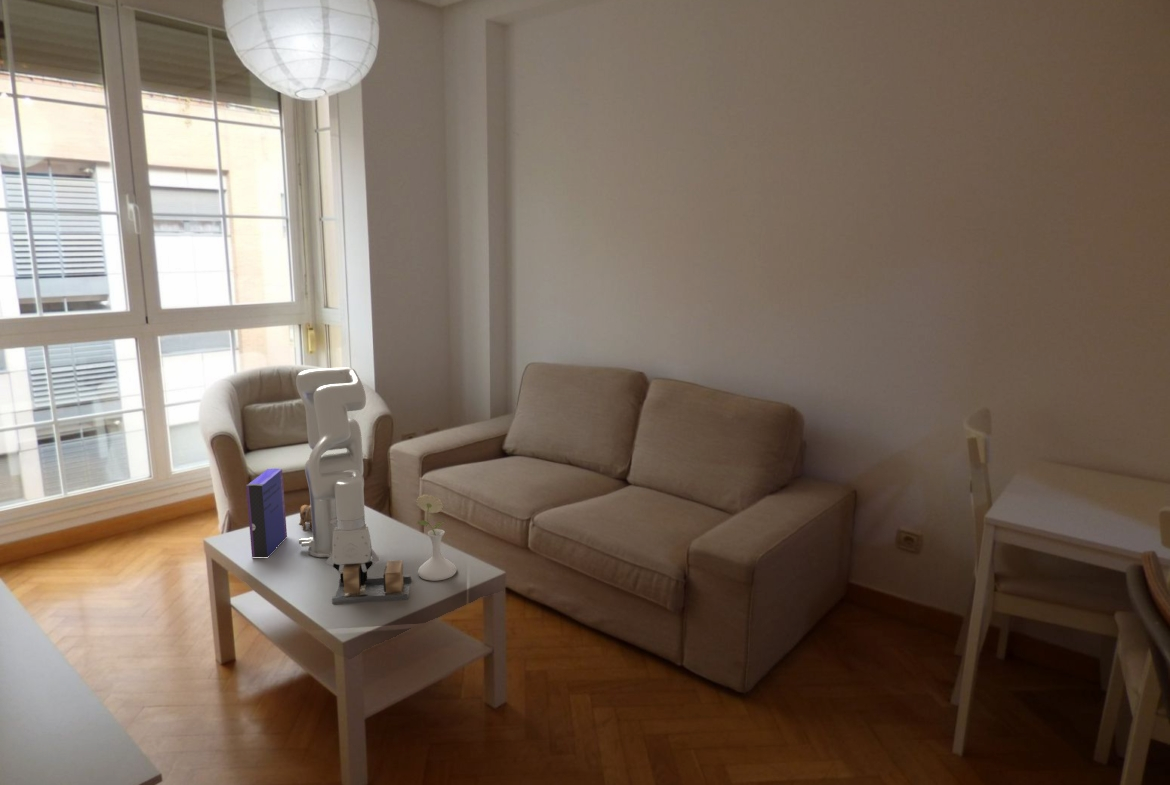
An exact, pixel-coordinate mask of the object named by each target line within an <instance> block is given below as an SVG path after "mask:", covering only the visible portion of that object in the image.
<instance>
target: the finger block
mask: <svg viewBox="0 0 1170 785" xmlns="http://www.w3.org/2000/svg"><path fill="white" fill-rule="evenodd" d="M361 571H362V568H361V565H360V564H345V565H344V568H343V581H344V593H359V592H360V589H361V586H362V585H361Z"/></svg>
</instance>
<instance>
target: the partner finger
mask: <svg viewBox="0 0 1170 785" xmlns="http://www.w3.org/2000/svg"><path fill="white" fill-rule="evenodd" d="M403 561H404V560H390V561H389V560H388V561H387V564H386V565H385V569H384V571H383V578H384V592H386V593H400V592H402V588H403V575H404V564H403Z"/></svg>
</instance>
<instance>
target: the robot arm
mask: <svg viewBox="0 0 1170 785" xmlns="http://www.w3.org/2000/svg"><path fill="white" fill-rule="evenodd" d="M295 384H296V389H297V392H298V393H297V394H299V397H300V399H301V401H302V404H303V406H304V409H305V420H306V431H307V432H306V433H307V441H308V446H309V448H310V449H311V452H310V455H309V457H308V460H306V462H305V465H304V472H305V476H306V481H307V485H308V491H309V501H310V504H309V505H310V506H311V519H312V529H311V530H312V531H311V532H312V536H310V537H309V538H304V537H303V538H301V537H300V538H299V539H298V545H301V547H303V548H304V547H308V550H307V551H308V553H309V554H308V555H310V556H312V557H316V558H327V559H326V561H325V562H326V564H327V565H329V566H331V567H333V569H335V570H336V571H338V573H339V575H340V576H339V580H340V579H341V583H343V587H344V581H343V568H344V565H345V564H360V565H361V568H362V571H361V585H362V586H364V584H365V581H367V577H368V570H369V569H370V568H371V567H372V566H373V565H374V564H376V563H377V562H378V561H379V560H380V557H379V555H378V554H377V553H376V552H375V550H374V549H373V548H372V547H373V546H372V541H371V540H372V539H371V533H370V529H369V526H368V524H366V515H365V494H364V492H365V491H364V487H365V478H364V459H363V458H364V456H363V443H362V432H361V427H360V425H359V423H358V421H357V420H356V419H354V418H351V417H350V418H349V416H348V412H353V411H354V412H355V411H357V412H358V411H362V410H363V409H364V408H365V407H366V403H367V397H366V390H365V388H364V385H363V382H362V381H361V378H360V377H359V375H358V374H357V371H356V369H354V368H353V367H350V366H349V367H348V366H341V367H325V368H324V367H323V368H310V369H306V370H303V371H300V372H299V373H298V374H297V375H296V377H295ZM344 449H345V450H346V451H343V452H335V453H327V454H325V453H326V452H327V451H335V450H344Z"/></svg>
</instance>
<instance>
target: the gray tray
mask: <svg viewBox="0 0 1170 785" xmlns="http://www.w3.org/2000/svg"><path fill="white" fill-rule="evenodd" d="M411 582H412V575H411V574H403V588H402V592H400V593H386V592H384V578H383V576H367V581H365V584H364V586H361V589H360V592H359V593H344V587H343V583H341V579H340V578H339V580H338V583H339V586H338V588H337V591H336V594H335V595H334V596H332V598H331V603H332V604H333V605H337V604H349V603H350V604H351V603H365V602H366V603H369V602H382V601H383V602H384V601H385V602H386V601H398V600H399V601H401V600H402V601H403V600H409V599H408V598H409V594H410V588H411Z"/></svg>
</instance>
